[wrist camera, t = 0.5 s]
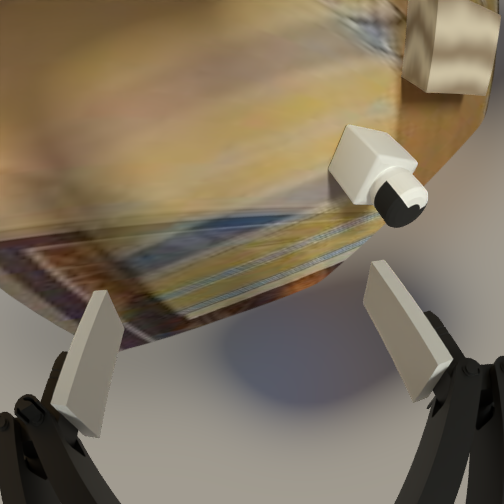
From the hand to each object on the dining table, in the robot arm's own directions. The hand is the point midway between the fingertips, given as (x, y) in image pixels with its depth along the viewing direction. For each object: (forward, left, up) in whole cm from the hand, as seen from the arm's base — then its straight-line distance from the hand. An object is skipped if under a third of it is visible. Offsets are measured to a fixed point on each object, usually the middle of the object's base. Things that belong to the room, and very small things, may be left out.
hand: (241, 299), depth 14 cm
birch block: (-7, +32, -21) cm, 39 cm away
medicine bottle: (+10, +20, -21) cm, 30 cm away
